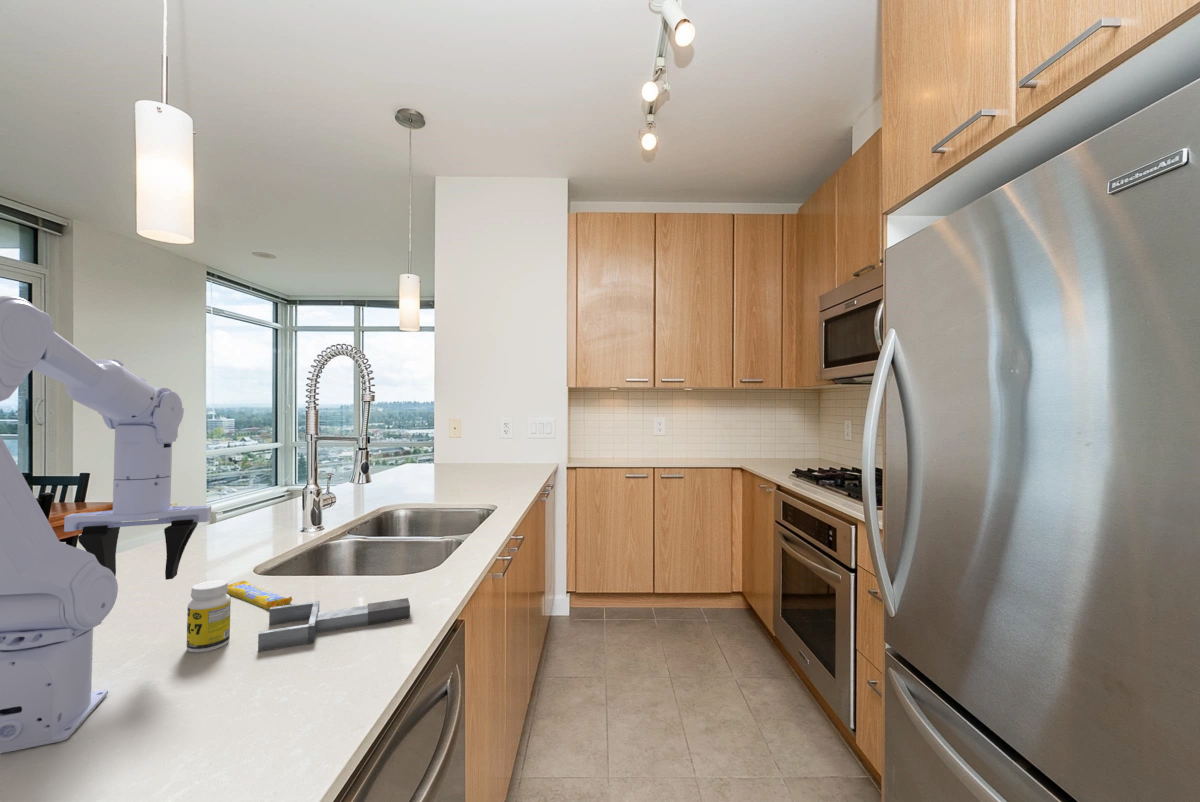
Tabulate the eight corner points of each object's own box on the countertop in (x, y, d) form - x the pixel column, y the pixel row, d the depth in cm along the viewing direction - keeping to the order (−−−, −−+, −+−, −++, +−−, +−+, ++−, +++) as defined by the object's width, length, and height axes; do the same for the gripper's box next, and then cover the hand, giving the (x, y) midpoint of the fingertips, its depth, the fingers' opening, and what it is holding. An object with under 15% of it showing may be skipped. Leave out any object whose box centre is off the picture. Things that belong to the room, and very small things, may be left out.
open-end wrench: (411, 626, 77) (412, 610, 77) (257, 651, 68) (258, 633, 68) (406, 603, 86) (406, 589, 86) (269, 623, 77) (270, 607, 78)
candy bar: (295, 606, 85) (295, 595, 85) (268, 614, 82) (268, 603, 82) (246, 587, 94) (246, 577, 94) (220, 594, 91) (220, 584, 91)
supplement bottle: (179, 648, 69) (180, 586, 69) (218, 635, 73) (219, 576, 73) (197, 656, 67) (199, 592, 67) (236, 642, 71) (238, 582, 71)
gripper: (217, 471, 74) (215, 565, 74) (84, 476, 68) (81, 578, 68) (204, 477, 68) (201, 579, 67) (56, 483, 62) (52, 596, 61)
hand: (140, 580), depth 67 cm, fingers open, 6 cm apart
